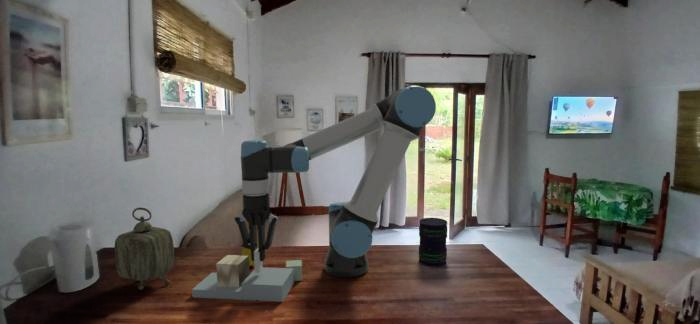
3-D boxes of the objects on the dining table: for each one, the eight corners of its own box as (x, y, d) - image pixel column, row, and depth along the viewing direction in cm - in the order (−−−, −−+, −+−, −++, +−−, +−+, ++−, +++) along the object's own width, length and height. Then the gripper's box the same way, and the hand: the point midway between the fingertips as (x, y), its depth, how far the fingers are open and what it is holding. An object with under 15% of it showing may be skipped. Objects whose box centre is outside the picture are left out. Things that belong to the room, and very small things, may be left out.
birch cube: (248, 255, 114) (227, 254, 115) (238, 264, 107) (216, 263, 108) (249, 277, 115) (228, 276, 116) (239, 287, 108) (217, 286, 109)
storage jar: (450, 260, 134) (451, 219, 132) (441, 269, 126) (442, 226, 124) (424, 254, 139) (424, 216, 138) (414, 263, 131) (414, 222, 129)
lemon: (254, 269, 127) (253, 247, 126) (239, 268, 128) (238, 246, 127) (261, 263, 132) (260, 241, 131) (246, 262, 133) (245, 241, 132)
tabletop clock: (176, 283, 117) (171, 205, 114) (154, 296, 108) (148, 213, 105) (139, 278, 121) (133, 203, 118) (114, 290, 112) (108, 210, 109)
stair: (294, 283, 116) (293, 268, 116) (282, 301, 104) (282, 285, 104) (212, 279, 119) (211, 265, 119) (192, 297, 107) (191, 281, 107)
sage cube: (301, 274, 123) (301, 259, 122) (302, 280, 118) (301, 265, 118) (286, 275, 122) (286, 260, 122) (286, 281, 117) (285, 266, 117)
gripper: (281, 191, 111) (283, 266, 113) (239, 190, 112) (242, 265, 115) (273, 196, 103) (276, 277, 106) (228, 195, 105) (232, 275, 108)
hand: (258, 270), depth 111 cm, fingers closed
